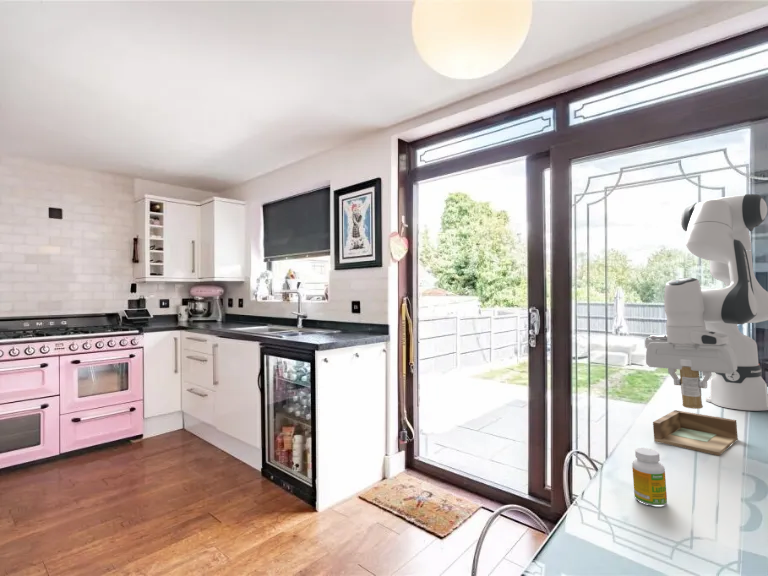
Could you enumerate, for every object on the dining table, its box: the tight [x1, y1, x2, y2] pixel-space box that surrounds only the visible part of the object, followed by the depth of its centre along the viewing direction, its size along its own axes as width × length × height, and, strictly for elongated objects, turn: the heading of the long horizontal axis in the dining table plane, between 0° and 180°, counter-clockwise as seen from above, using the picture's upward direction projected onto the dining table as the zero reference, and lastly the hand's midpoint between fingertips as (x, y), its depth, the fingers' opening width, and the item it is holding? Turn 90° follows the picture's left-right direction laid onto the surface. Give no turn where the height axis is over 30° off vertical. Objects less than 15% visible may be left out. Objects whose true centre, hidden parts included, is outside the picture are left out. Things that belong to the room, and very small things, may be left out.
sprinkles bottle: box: [679, 359, 704, 410], centre depth 110 cm, size 5×5×14 cm
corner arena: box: [652, 410, 739, 456], centre depth 108 cm, size 16×14×5 cm
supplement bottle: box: [631, 447, 668, 506], centre depth 79 cm, size 5×5×10 cm
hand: (690, 386), depth 110 cm, fingers closed on sprinkles bottle, 4 cm apart
